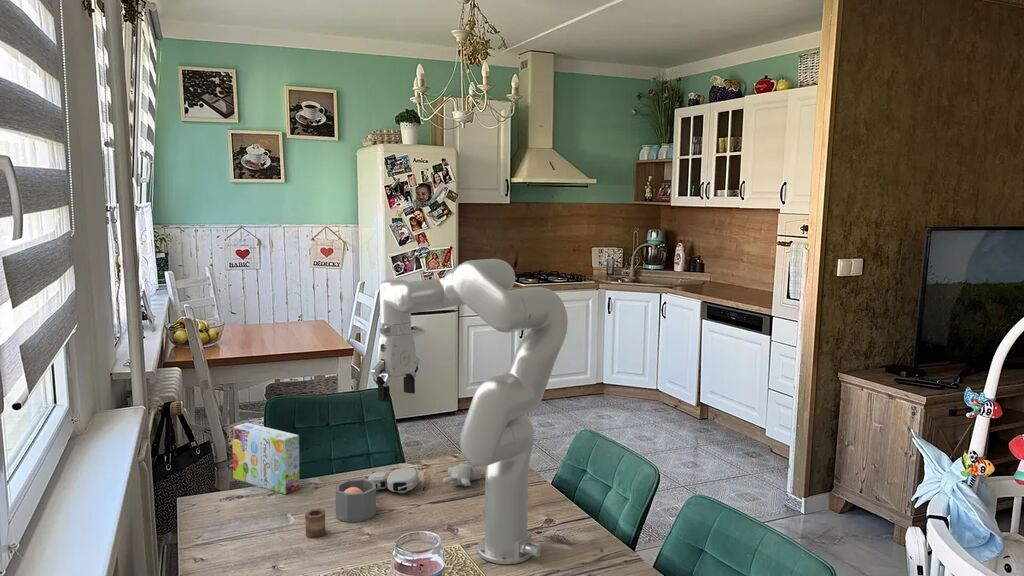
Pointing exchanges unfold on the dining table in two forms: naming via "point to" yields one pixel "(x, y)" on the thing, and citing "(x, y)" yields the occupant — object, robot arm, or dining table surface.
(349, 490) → the ball
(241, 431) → the snack box
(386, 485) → the robot toy
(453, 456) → the dining table surface
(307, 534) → the stand
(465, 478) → the bunny figurine
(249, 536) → the dining table surface
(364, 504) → the grey octagonal pot
